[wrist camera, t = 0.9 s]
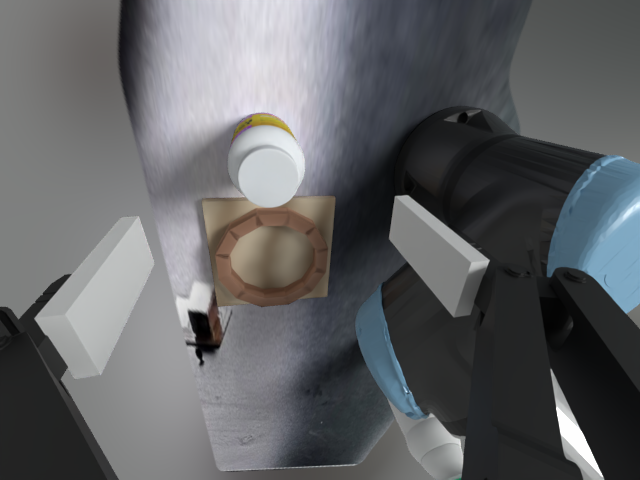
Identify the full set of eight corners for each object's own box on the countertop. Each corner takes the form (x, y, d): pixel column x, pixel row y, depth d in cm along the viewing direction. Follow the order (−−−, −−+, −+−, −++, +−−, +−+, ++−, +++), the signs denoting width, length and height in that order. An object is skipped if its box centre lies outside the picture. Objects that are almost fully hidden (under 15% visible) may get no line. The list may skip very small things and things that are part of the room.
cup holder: (333, 195, 38) (339, 204, 35) (325, 292, 46) (330, 305, 43) (202, 198, 35) (199, 208, 32) (218, 302, 43) (216, 316, 40)
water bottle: (401, 343, 56) (493, 510, 35) (366, 355, 56) (438, 530, 34) (399, 318, 52) (500, 487, 31) (361, 330, 52) (438, 510, 31)
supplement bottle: (248, 99, 31) (246, 114, 20) (303, 130, 33) (328, 160, 22) (223, 156, 33) (210, 198, 22) (276, 181, 36) (288, 230, 25)
